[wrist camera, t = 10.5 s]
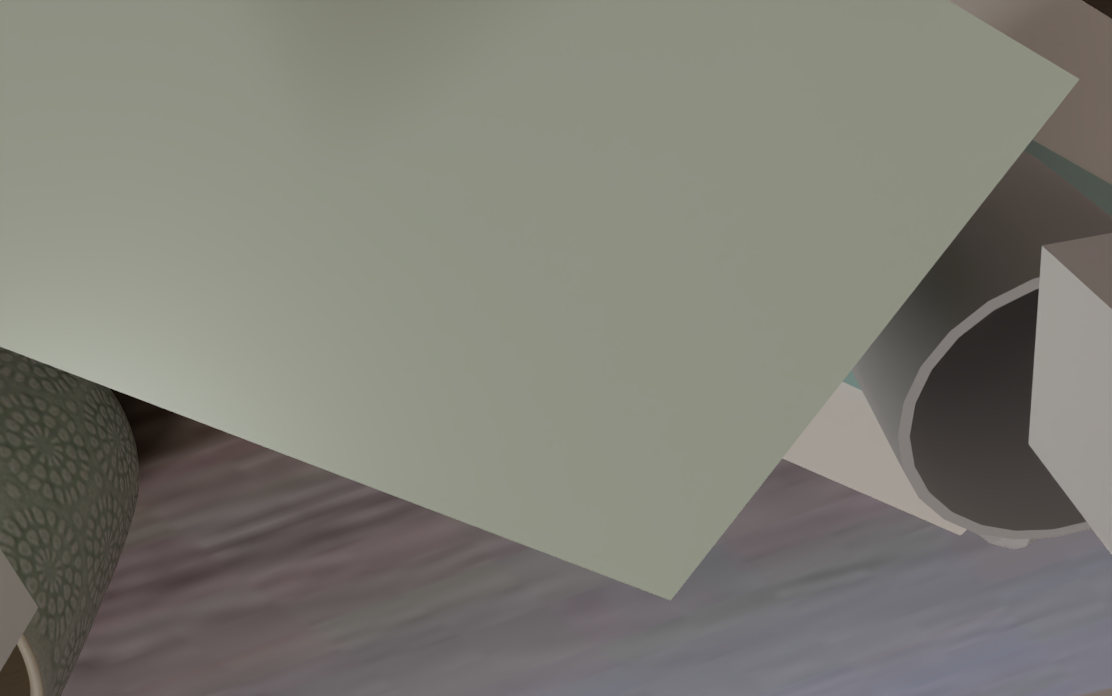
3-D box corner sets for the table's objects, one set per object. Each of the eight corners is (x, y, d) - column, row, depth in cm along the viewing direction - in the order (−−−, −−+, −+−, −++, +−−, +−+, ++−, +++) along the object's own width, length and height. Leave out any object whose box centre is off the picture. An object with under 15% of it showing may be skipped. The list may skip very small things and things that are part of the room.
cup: (1062, 101, 27) (1272, 234, 19) (1036, 400, 32) (1193, 601, 24) (797, 147, 27) (897, 295, 19) (813, 433, 32) (897, 639, 25)
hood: (127, 119, 26) (-100, 308, 17) (278, -395, 21) (61, -531, 11) (632, 345, 30) (670, 600, 21) (877, -37, 25) (1079, 79, 15)
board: (124, 151, 28) (106, 167, 27) (311, -477, 21) (298, -490, 20) (949, 513, 36) (961, 537, 35) (1296, 138, 29) (1327, 153, 27)
